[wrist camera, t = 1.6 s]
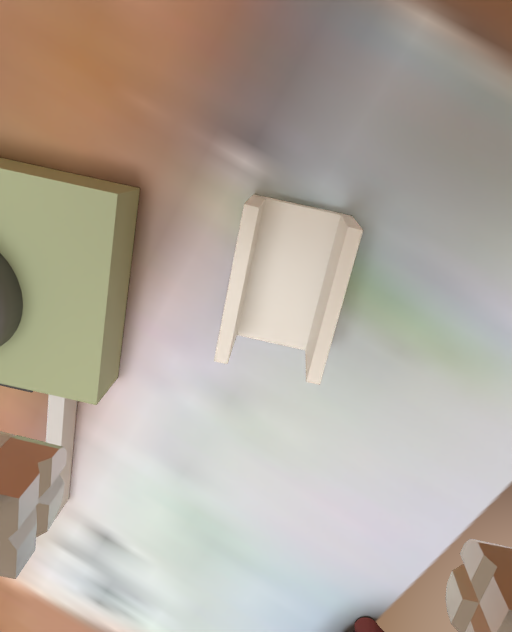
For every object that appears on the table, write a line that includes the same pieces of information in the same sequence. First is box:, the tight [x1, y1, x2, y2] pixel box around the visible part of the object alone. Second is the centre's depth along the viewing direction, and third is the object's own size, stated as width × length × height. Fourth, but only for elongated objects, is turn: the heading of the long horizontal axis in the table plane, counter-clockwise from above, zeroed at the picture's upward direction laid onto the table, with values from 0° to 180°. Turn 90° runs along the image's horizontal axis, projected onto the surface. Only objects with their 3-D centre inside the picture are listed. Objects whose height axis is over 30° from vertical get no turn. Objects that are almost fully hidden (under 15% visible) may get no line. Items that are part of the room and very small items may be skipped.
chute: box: [214, 194, 363, 385], centre depth 25 cm, size 8×6×5 cm
